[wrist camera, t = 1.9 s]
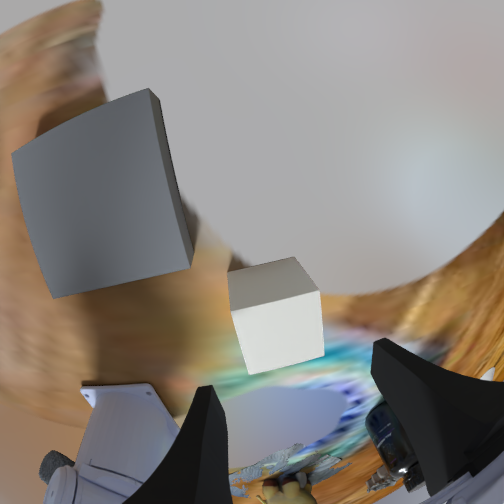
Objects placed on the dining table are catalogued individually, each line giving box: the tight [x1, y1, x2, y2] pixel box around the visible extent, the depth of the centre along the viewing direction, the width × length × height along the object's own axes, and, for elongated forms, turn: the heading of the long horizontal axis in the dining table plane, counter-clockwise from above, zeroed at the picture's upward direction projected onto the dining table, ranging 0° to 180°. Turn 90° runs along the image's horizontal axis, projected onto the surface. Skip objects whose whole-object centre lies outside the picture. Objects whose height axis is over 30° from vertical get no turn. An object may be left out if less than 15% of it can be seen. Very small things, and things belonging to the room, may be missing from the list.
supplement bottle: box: [365, 401, 426, 493], centre depth 20 cm, size 7×7×12 cm
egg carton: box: [366, 465, 402, 493], centre depth 34 cm, size 11×8×4 cm
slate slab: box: [11, 88, 194, 299], centre depth 14 cm, size 10×10×3 cm
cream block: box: [227, 257, 324, 375], centre depth 16 cm, size 4×4×5 cm
